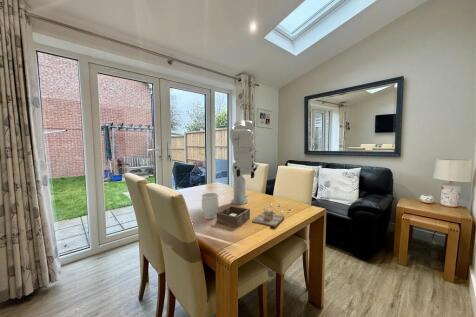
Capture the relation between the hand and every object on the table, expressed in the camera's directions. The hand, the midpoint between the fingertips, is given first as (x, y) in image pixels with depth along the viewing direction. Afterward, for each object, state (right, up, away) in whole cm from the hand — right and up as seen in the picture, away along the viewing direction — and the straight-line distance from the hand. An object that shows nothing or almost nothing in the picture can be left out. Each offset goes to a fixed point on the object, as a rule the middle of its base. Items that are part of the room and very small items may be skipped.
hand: (245, 177), depth 133 cm
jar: (-23, -27, +5) cm, 35 cm away
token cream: (-8, -26, 0) cm, 27 cm away
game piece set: (+23, -25, +20) cm, 40 cm away
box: (-7, -27, -3) cm, 28 cm away
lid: (+14, -26, -2) cm, 30 cm away
